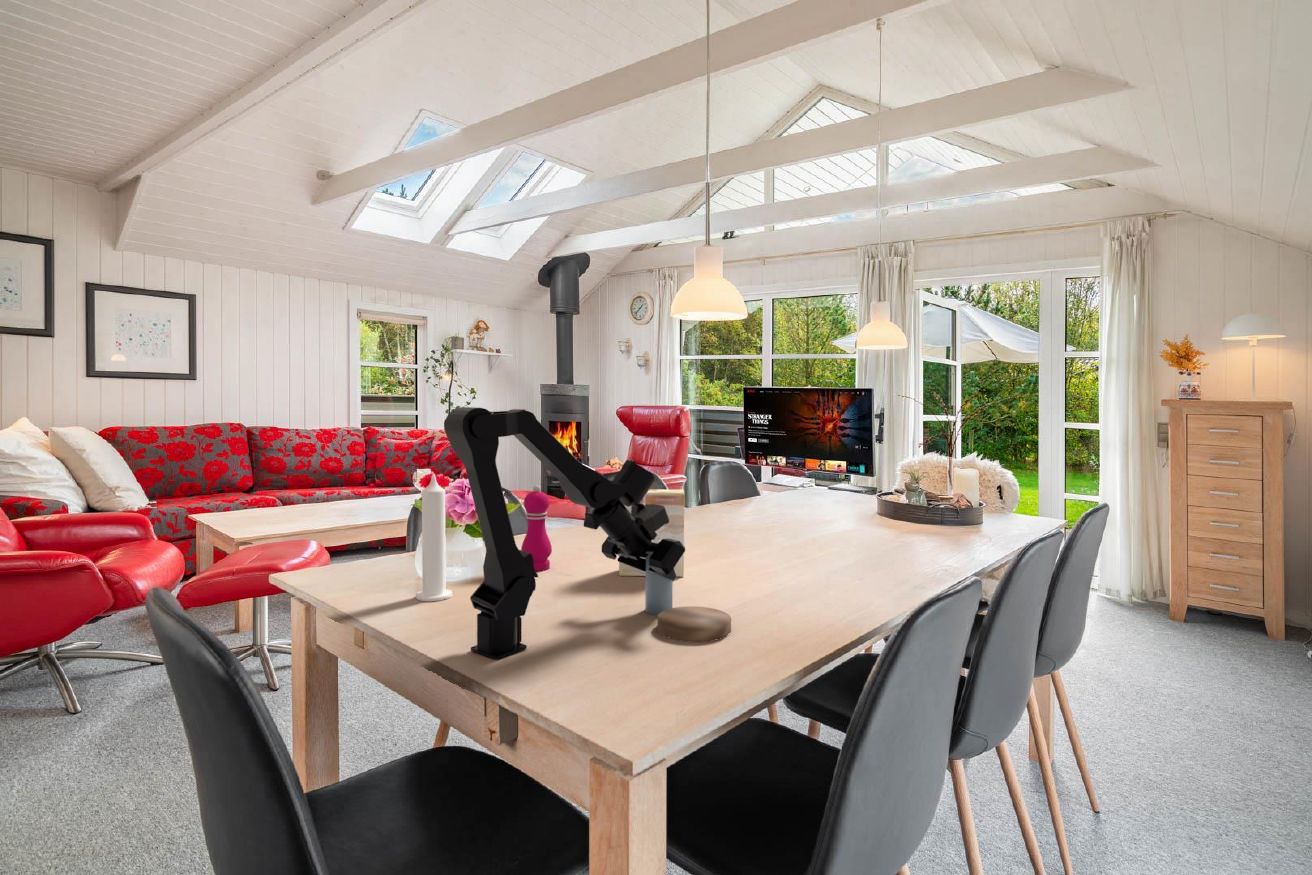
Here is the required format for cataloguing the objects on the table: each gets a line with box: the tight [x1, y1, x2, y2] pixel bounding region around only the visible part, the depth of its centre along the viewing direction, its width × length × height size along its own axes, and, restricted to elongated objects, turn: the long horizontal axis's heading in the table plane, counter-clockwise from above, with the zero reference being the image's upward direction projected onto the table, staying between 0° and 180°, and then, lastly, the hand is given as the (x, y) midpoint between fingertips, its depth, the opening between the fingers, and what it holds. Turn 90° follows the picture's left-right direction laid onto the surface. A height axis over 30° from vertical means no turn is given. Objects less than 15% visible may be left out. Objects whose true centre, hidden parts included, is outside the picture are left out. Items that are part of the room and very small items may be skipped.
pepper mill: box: [520, 484, 553, 572], centre depth 167 cm, size 7×7×20 cm
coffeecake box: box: [618, 488, 685, 578], centre depth 164 cm, size 15×7×20 cm, turn 88°
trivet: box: [656, 605, 732, 643], centre depth 124 cm, size 13×13×2 cm
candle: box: [415, 473, 453, 602], centre depth 142 cm, size 7×7×25 cm
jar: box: [644, 555, 674, 616], centre depth 135 cm, size 5×5×12 cm
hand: (664, 575), depth 135 cm, fingers closed on jar, 5 cm apart
